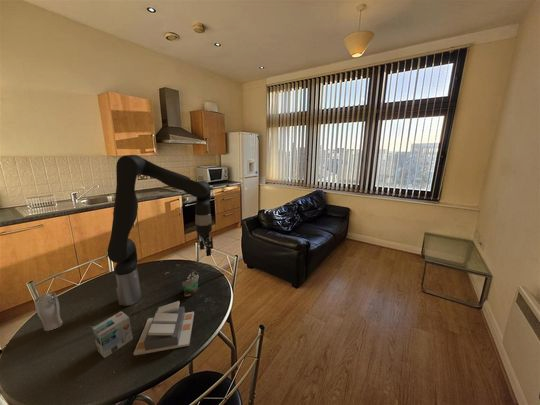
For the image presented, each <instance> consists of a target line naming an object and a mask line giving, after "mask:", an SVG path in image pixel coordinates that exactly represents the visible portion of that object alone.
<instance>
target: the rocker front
mask: <svg viewBox="0 0 540 405" xmlns="http://www.w3.org/2000/svg"><path fill="white" fill-rule="evenodd" d="M175 325H176V324H151V327H150V329H149V332H148V335H173V333H174V330H175Z"/></svg>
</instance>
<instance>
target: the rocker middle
mask: <svg viewBox="0 0 540 405" xmlns="http://www.w3.org/2000/svg"><path fill="white" fill-rule="evenodd" d="M155 313H156V312H155ZM155 313H154V315H155V317H154V316H153V318H154V319H153V323H168V324H176V322H177V318H178V314H173V313H156V314H155Z"/></svg>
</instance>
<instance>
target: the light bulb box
mask: <svg viewBox="0 0 540 405" xmlns="http://www.w3.org/2000/svg"><path fill="white" fill-rule="evenodd" d="M131 326H132V325H131V321H130V316H128V315H127V314H126V313H124V312H123V311H119V312H118V313H115V314H114V315H113V316H111V317H109V318H106V319H105V320H104V321H102V322H100V323H98V324H96V325H95V326H93V327H92V333H93V336H94V337H93V338H94V341H95V346H96V347H95V348H96V351H98V353H99V355H101V356H102V358H104V359H105V358H107V357H109V356H110V355H111V354H113V353H115V352H116V351H118V350H119V349H120V348H122V347H123V346H125V345H127V344H128V343H130V342H131V341H133V333H132V327H131Z"/></svg>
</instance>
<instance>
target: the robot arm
mask: <svg viewBox="0 0 540 405" xmlns="http://www.w3.org/2000/svg"><path fill="white" fill-rule="evenodd" d="M115 167H116V169H115V172H116V173H115V174H116V188H115V196H114V204H113V214H112V217H113V218H112V225H111V233H110V238H109V243H108V247H107V253H106V254H107V256H108V259H109V260H110V261H111V262H112V263H114V264H115V263H116V265H115V267H114V275H115V279H116V280H115V281H116V284H117V286H116V288H115V290H116V296H117V300H118V305H120V306H126V307H127V306H132V305H134V304H136V303H138V302H140V300H141V299H142V291H141V290H142V289H141V285H140V283H141V282H140V278H139V272H138V266H137V264H138V253H137V245H136V243H135V242H134V241H133V240H132V239H131V238H129V235H130V233H131V232H132V231H131V230H132V229H133V226H134V224H135V223H136V221H137V218H138V217H137V216H138V210H139V202H138V198H137V194H136V190H135V189H136V188H135V187H136V182H137V178H138V177H137V176H146V177H149V178H154V179H155V180H157V181H159V182H161V183H163V184H164V185H167V187H171V188H172V189H173V188H174V189H176V190H180V191H183V192H184V193H187V194H189V195H191V197H192V196H193V197H195V198H196V200H195V201H196V202H195V205H194V208H195V209H194V210H195V219H194V220H195V230H196V231H195V232H196V235H197V236H196V240H197V241H198V243H199V250H201V251H202V250H205V252H206V256H207V257H209V256H212V249H214V242H213V241H214V240H213V236H211V235H210V233H211V232H212V231H213V225H212V224H213V222H212V214H211V186H210V184H209V183H208V182H207V181H204V180H203V181H199V182H198V181H196V180H193V179H191V177H189V176H187V175H184V174H181V173H178V172H176V171H173V170H169V169H167V168H164V167H161V166H159V165H158V164H155V163H153V162H151V161H149V160H147V159H145V158H144V157H141V156H140V155H138V154H137V155H136V154H127V155H122V156H121V157H119V158H118V159H117V161H116V166H115Z"/></svg>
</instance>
